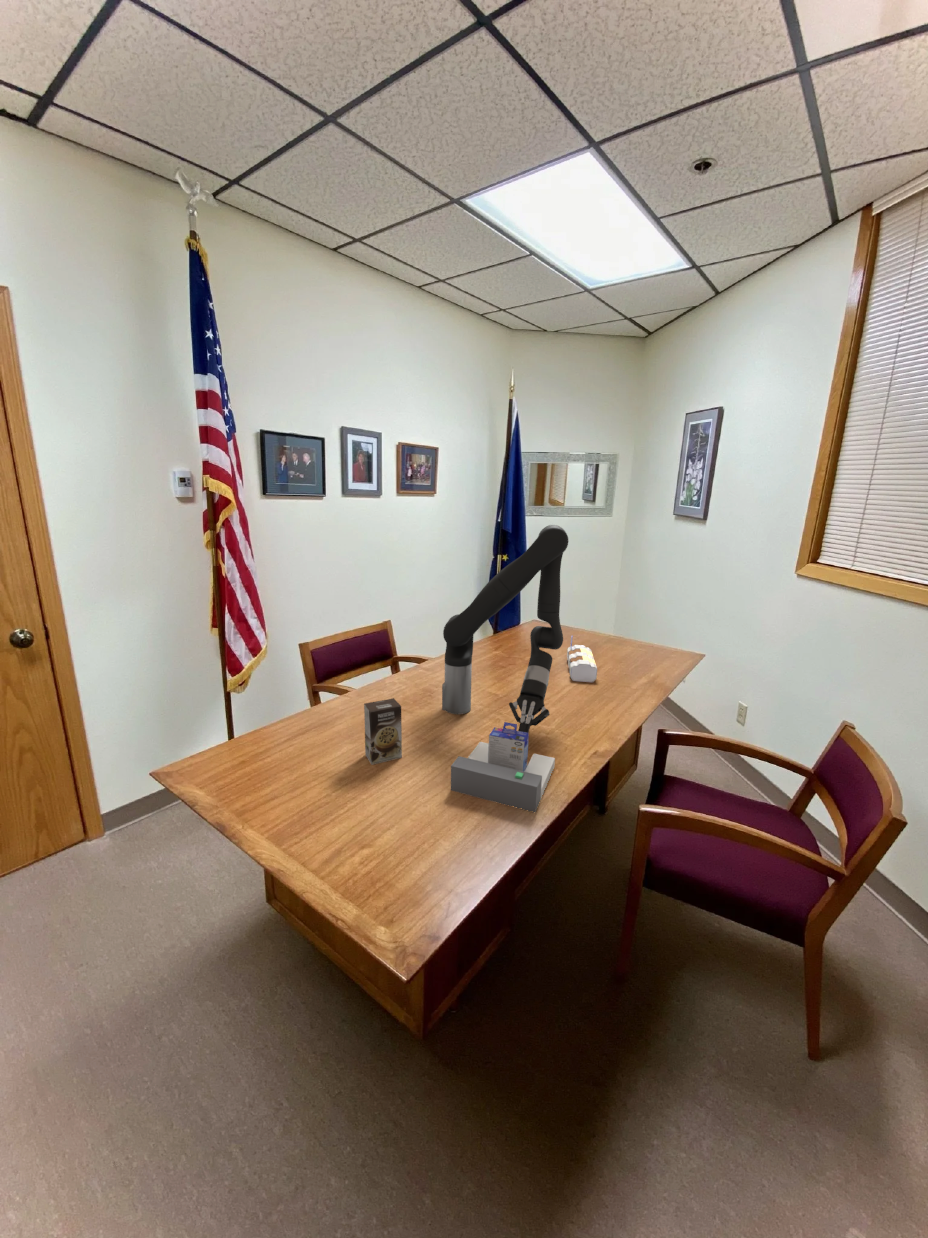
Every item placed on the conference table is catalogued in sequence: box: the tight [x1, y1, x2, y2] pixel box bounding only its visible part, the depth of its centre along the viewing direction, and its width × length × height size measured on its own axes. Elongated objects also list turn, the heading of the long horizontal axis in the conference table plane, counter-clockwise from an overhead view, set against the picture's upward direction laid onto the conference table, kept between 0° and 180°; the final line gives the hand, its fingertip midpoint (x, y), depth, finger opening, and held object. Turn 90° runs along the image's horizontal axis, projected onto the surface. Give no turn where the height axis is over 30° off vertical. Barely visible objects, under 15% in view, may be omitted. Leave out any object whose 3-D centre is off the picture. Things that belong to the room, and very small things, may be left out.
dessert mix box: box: [363, 697, 403, 766], centre depth 135 cm, size 9×6×16 cm
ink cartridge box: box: [488, 721, 530, 771], centre depth 128 cm, size 10×6×14 cm, turn 71°
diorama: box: [566, 635, 598, 683], centre depth 204 cm, size 25×10×13 cm, turn 171°
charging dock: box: [450, 741, 556, 813], centre depth 127 cm, size 22×21×8 cm
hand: (522, 736), depth 142 cm, fingers closed
